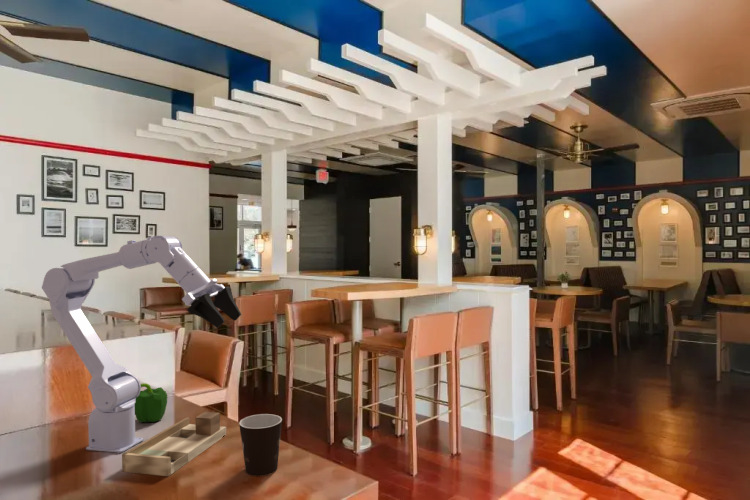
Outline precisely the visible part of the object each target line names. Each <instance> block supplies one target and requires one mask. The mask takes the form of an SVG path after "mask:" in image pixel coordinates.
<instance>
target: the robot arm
mask: <svg viewBox="0 0 750 500" xmlns="http://www.w3.org/2000/svg"><path fill="white" fill-rule="evenodd" d="M156 263H159V264H160V265H161V267H162V268H164V269H165V271H166V272H167V273H168V274H169V275H170V276H171V277H172V279H173V280H174V281H175V282H176V283H177V284H178V285H179V287H181V289H182V290H183V291H184V292H185V295H184V296H183V297H182V298H181V300H182V302H183V303H184V304H185V305H186V306H189V307H188V309H187V312H188V314H192V315H195V316H197V317H200V318H201V319H203V320H205V321H206V322H208V323H209V324H211V325H213V327H215V328H217V329H218V328H220V327H221V326H222V325H223V324H224V323H225V318H224V317H223V316H222V314H221V313H220V311H222V312H223V313H224V314H225V315H226V316H227V317H229V318H230V319H232V321H237V320H238V319H239V318H240V317H241V316H242V312H241V311H240V309H239V307H238V305H237V304H236V302H235V299H234V295H233V292H232V288H231V287H230V286H224V284H222V283H221V284H219V283H217V282H218V279H217V278H213V279H210V277H208V276H207V274H206V273H205V272H204V271H203V270H202V269H201V267H199V265H197V264H196V263H195V261H194V260H193V259H192V258H191V257H190V256H189V255H188V254H187V253H186V252H185V251H184V249H183V244H182V241H180V239H179V238H177V237H176V236H173V235H154V236H147V238H146V239H143V240H139V241H137V240H135V239H133V240H127V242H126V244H123V245H122V246H121V247H120V248H119V249H118V252H113V253H112V252H111V253H108V254H103V255H98V256H92V257H89V258H82V259H79V260H75V261H71V262H69V263H68V262H67V263H64V264H62V265H60V267H61V268H60V267H54V268H51V269H49V270H48V271H47V272H46V273H45V275H44V278H43V281H42V285H41V290H43V292H44V294H45V296H46V297H47V298H48V301H49V306H50V309H51V310H50V311H51V313H52V316H53V317H54V319H55V321H56V322H57V323H58V325H59V327H60V329H61V330H62V332H63V333H64V335H65V336H66V338H67V340H68V341H69V343H70V344H71V345H72V347H73V349H74V351H75V352H76V354H77V355H78V356H79V358H80V360H81V362H82V363H83V364H84V366H85V368H86V370H87V371H88V373H89V374H90V376H91V379H90V381H89V383H88V386H87V388H88V390H89V391H90V394H91V398H92V403H93V405H94V406H95V408H94V409H93V410H92V411H91V413H90V414H89V417H88V423H87V424H88V426H87V427H88V446H86V448H85V450H86V451H98V452H106V453H108V452H109V453H117V454H118V453H119V454H121V453H124V452H125V451H128V450H130V449H132V448H133V447H135V446H137V444H138V445H139V444H140V443H142V442H144V440H145V439H144V437H139V436H138V437H137V436H136V415H135V403H136V397H138V395H139V394H140V391H142V387H141V384H142V383H141V382H140V380H139V378H138V377H137V376H136V375H134V374H132V373H131V372H130V371H129V369H128V368H127V367H126V366H123V365H121V364H118V363H116V362H115V360H114V359H113V357H112V355H111V354H110V352H109V351H108V349H107V348H106V346H105V345H104V343H103V342H102V340H101V338H100V337H99V335H98V334H97V333H96V331H95V329H94V327H93V326H92V325H91V323H90V321H89V320H88V318H87V317H86V315H85V314H84V312H83V310H82V306H83V304H84V303H85V300H86V299H87V297H88V296H89V294H90V292H91V291H92V289H93V287H94V285H95V283H96V280H97V279H99V278H100V277H99V273H100V272H103V271H104V272H105V271H106V270H110V269H114V268H117V267H121V266H123V267H124V268H126V269H129V270H132V269H135V268H141V267H144V266H145V267H146V266H149V265H153V264H156ZM212 297H214V300H213V299H212ZM218 309H219V310H220V311H219V310H218Z"/></svg>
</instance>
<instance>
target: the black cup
mask: <svg viewBox="0 0 750 500" xmlns="http://www.w3.org/2000/svg"><path fill="white" fill-rule="evenodd" d="M282 422H283V418H282V417H281V416H279V415H276V414H271V413H270V414H269V413H260V414H259V413H258V414H253V415H249V416H245V417H244V418H242V419H240V421H239V422H238V425H239V430H240V431H239V432H240V439H241V446H242V447H241V448H242V452H243V460H244V461H243V462H244V468H245V473H246V474H247V475H249V476H252V477H263V476H268V475H270V474H273V473H275V472H276V471H277V470H278V464H279V463H278V462H279V456H280V442H281V434H282V433H281V432H282V424H283V423H282Z"/></svg>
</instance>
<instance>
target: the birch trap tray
mask: <svg viewBox="0 0 750 500" xmlns="http://www.w3.org/2000/svg"><path fill="white" fill-rule="evenodd" d="M190 419H191V418H190V417H185V418H183V419H181V420H179V421H178V422H176V423H174V424H172V425H171V426H168V427H167V428H165V429H164V430H162V431H160V432H158V433H157V434H155V435H154V436H151V437H150V438H149V439H146V440H145V441H144V440H143V441H142V442H140V443H138V445H137V444H136V445H135V446H133V447H131V448H129V449H128V450H126V452H125V451H124V452H122V454H121V465H122V466H121V467H122V468H121V470H122V472H124V473H134V474H141V475H151V476H162V477H170V476H171V475H172V474H173V473H175V472H176V471H178V470H179V469H181V468H182V467H184V466H185V465H186V464H188V463H189V462H191V461H192V460H193V459H195V458H197V457H198V456H199V455H201V454H202V453H203V452H205V451H206V450H207V449H209V448H210V447H211V446H213V445H215V443H217V442H219V441H220V440H222V439H223V438H224V437H225V436H227V426H221V425H220V430H219V431H217V432H216V433H214V434H213V435H211V436H209V435H197V434H196V425H195V424H194V423H193V424H192V423H190ZM224 435H225V436H224ZM223 436H224V437H223ZM222 437H223V438H222Z"/></svg>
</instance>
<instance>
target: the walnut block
mask: <svg viewBox="0 0 750 500" xmlns="http://www.w3.org/2000/svg"><path fill="white" fill-rule="evenodd" d="M220 418H221V416H220V412H211V411H204V412H202V413H200V414H199V415H197V416H195V422H194V423H195V425H196V434H197V435H209V436H211V435H213V434H214V433H216V432H217V431H219V430H220V426H221V419H220Z"/></svg>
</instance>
